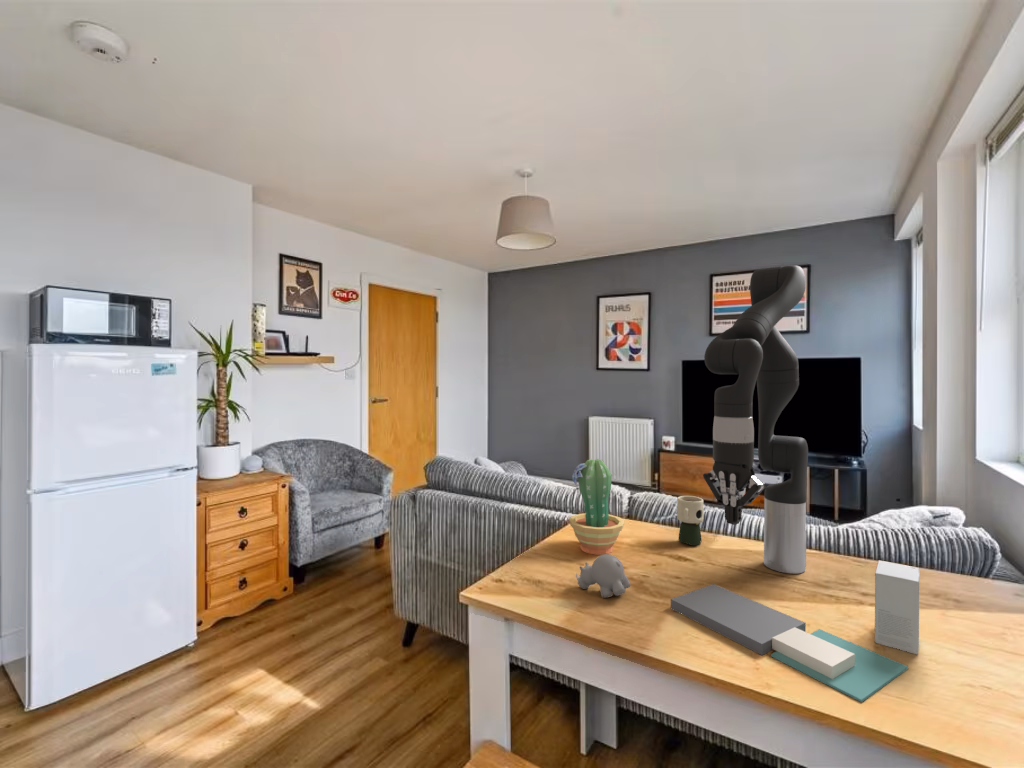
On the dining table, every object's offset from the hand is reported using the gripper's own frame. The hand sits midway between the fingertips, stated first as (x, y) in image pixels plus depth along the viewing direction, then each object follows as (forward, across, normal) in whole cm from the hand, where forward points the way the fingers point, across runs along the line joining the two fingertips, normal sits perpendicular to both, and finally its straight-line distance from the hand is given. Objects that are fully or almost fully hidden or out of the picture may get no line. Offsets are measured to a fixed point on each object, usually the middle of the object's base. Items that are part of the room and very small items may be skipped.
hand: (732, 523), depth 100 cm
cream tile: (+17, -17, +3) cm, 24 cm away
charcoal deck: (+19, -2, +2) cm, 19 cm away
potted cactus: (+19, +43, -2) cm, 47 cm away
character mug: (+20, +32, -27) cm, 47 cm away
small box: (+19, -22, -17) cm, 34 cm away
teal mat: (+19, -20, 0) cm, 27 cm away
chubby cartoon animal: (+19, +22, +16) cm, 33 cm away
